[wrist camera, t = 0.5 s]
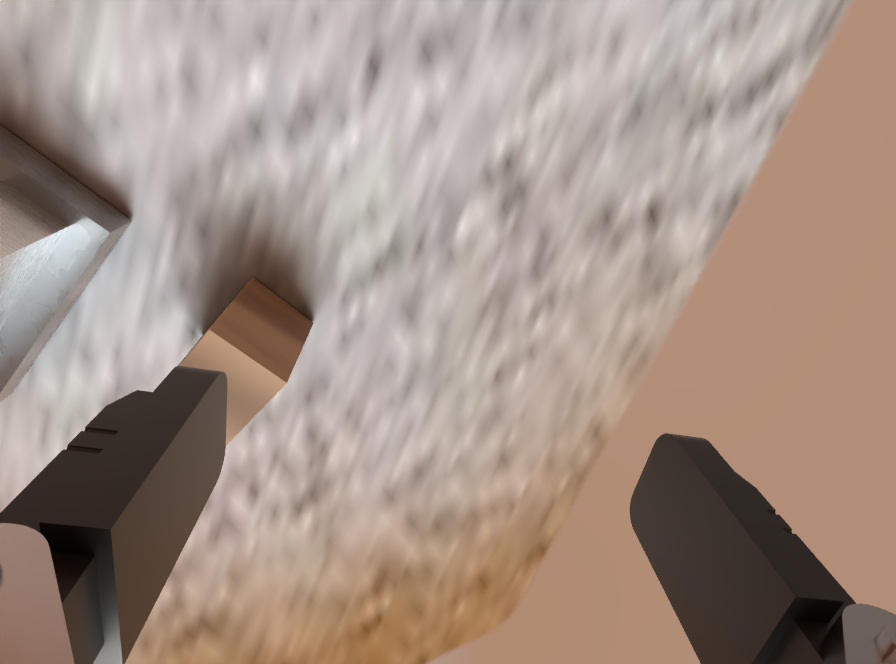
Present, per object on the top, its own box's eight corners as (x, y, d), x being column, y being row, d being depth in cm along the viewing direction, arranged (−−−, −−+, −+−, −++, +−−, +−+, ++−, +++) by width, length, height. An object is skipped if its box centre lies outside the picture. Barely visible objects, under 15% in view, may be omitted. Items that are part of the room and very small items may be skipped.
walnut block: (252, 276, 28) (209, 329, 22) (313, 322, 29) (286, 382, 24) (201, 337, 29) (149, 400, 24) (261, 378, 31) (225, 446, 25)
